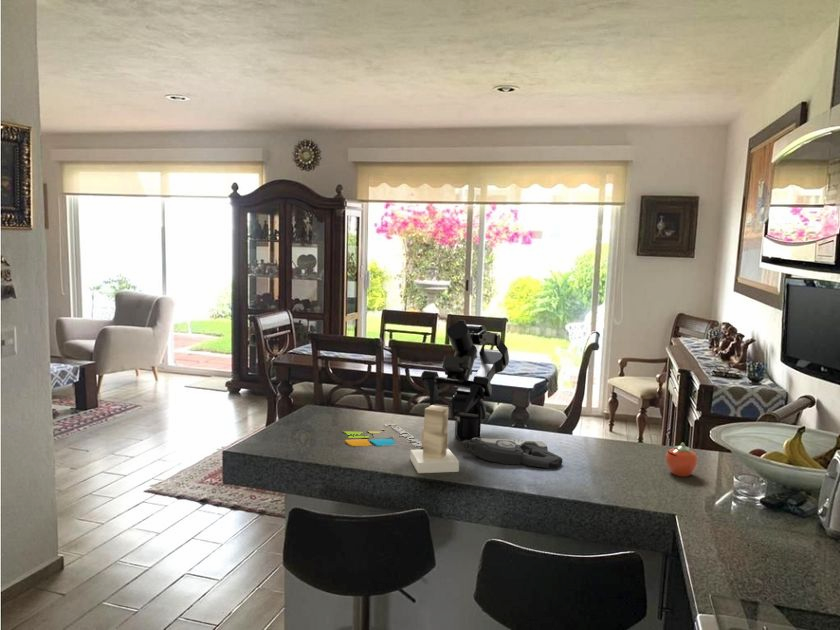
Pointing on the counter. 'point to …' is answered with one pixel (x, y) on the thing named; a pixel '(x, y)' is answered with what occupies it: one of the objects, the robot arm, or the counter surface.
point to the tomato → (681, 460)
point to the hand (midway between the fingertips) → (447, 410)
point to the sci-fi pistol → (513, 452)
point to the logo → (377, 441)
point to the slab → (434, 462)
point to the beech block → (435, 432)
